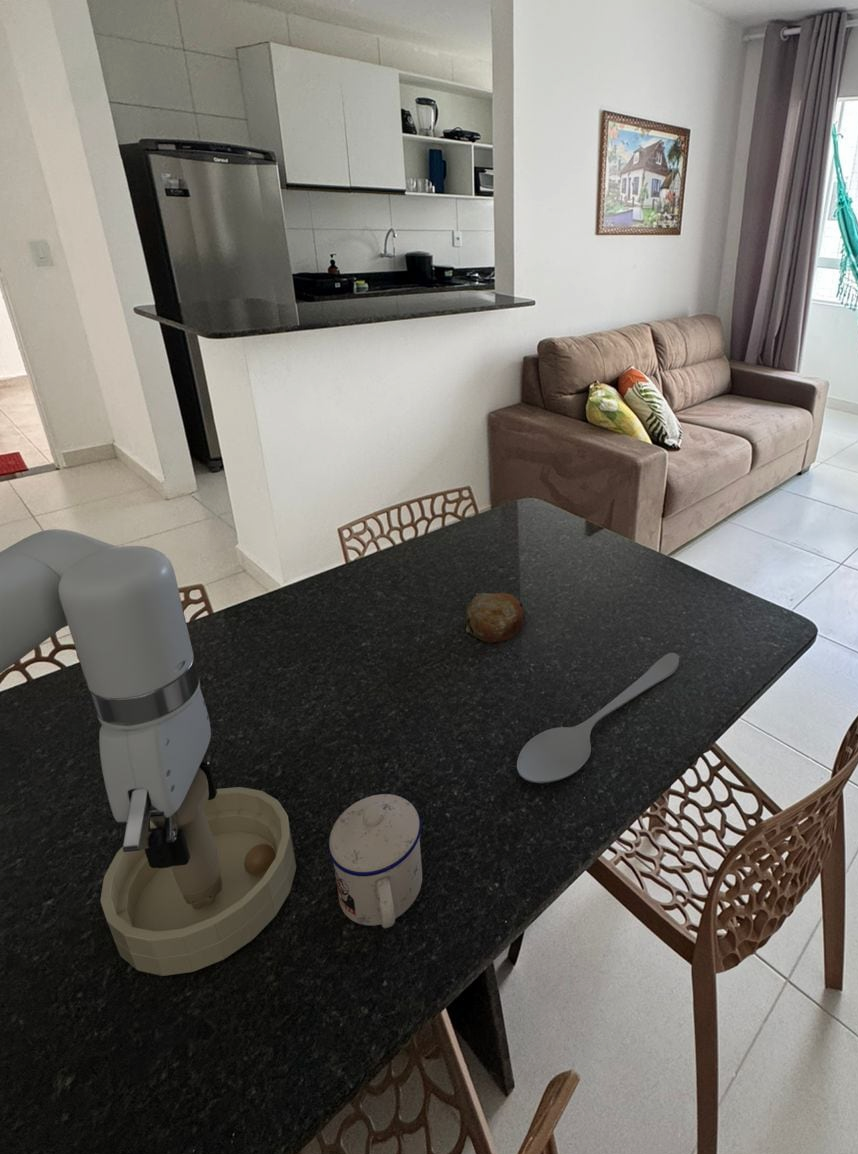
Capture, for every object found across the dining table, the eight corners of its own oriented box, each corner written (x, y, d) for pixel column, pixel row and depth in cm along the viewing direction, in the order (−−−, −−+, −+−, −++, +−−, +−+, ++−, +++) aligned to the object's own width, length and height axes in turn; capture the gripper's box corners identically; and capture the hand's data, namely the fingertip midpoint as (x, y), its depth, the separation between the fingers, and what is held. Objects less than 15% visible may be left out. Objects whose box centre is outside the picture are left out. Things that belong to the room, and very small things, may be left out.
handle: (177, 935, 64) (144, 829, 58) (177, 879, 69) (147, 775, 63) (233, 912, 67) (207, 807, 61) (229, 859, 72) (205, 758, 66)
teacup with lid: (333, 865, 74) (321, 790, 69) (416, 837, 77) (410, 765, 73) (343, 973, 64) (330, 895, 59) (438, 936, 68) (433, 859, 63)
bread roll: (464, 634, 118) (446, 607, 113) (508, 596, 122) (492, 568, 117) (495, 664, 111) (477, 636, 106) (540, 622, 115) (524, 594, 110)
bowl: (81, 991, 61) (64, 951, 59) (159, 832, 76) (147, 794, 74) (272, 965, 64) (263, 926, 62) (311, 817, 79) (305, 780, 77)
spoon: (543, 808, 82) (544, 793, 81) (499, 772, 86) (500, 757, 85) (693, 678, 107) (696, 665, 106) (654, 655, 112) (656, 642, 111)
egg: (237, 879, 71) (244, 865, 69) (245, 850, 73) (252, 837, 72) (267, 882, 72) (274, 868, 70) (274, 853, 74) (281, 840, 73)
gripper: (143, 625, 64) (179, 761, 71) (37, 770, 48) (97, 925, 56) (227, 621, 65) (254, 755, 72) (151, 761, 50) (194, 913, 57)
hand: (185, 828), depth 64 cm, fingers closed on handle, 6 cm apart
